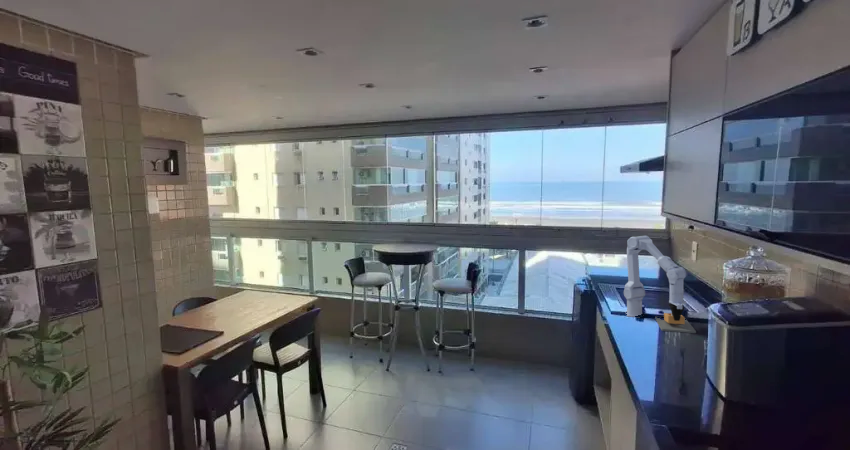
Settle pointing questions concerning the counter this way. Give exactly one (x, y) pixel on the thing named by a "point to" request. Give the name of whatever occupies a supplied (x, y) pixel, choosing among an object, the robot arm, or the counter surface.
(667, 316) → the orange rectangular frame
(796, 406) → the counter surface
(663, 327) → the keeper plate
